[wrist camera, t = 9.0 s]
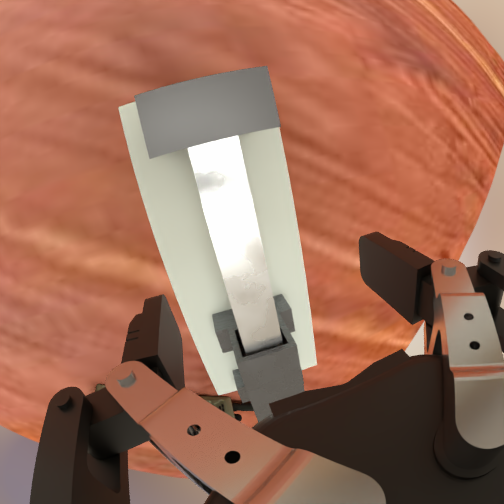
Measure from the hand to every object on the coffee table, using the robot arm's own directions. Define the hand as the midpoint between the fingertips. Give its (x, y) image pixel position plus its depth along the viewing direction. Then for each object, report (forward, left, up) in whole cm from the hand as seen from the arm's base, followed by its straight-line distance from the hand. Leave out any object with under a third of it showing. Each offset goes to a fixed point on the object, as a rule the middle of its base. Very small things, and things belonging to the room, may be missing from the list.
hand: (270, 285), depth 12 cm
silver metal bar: (0, -4, -14) cm, 14 cm away
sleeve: (0, -18, -18) cm, 25 cm away
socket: (0, +8, -18) cm, 19 cm away
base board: (0, -7, -19) cm, 21 cm away
